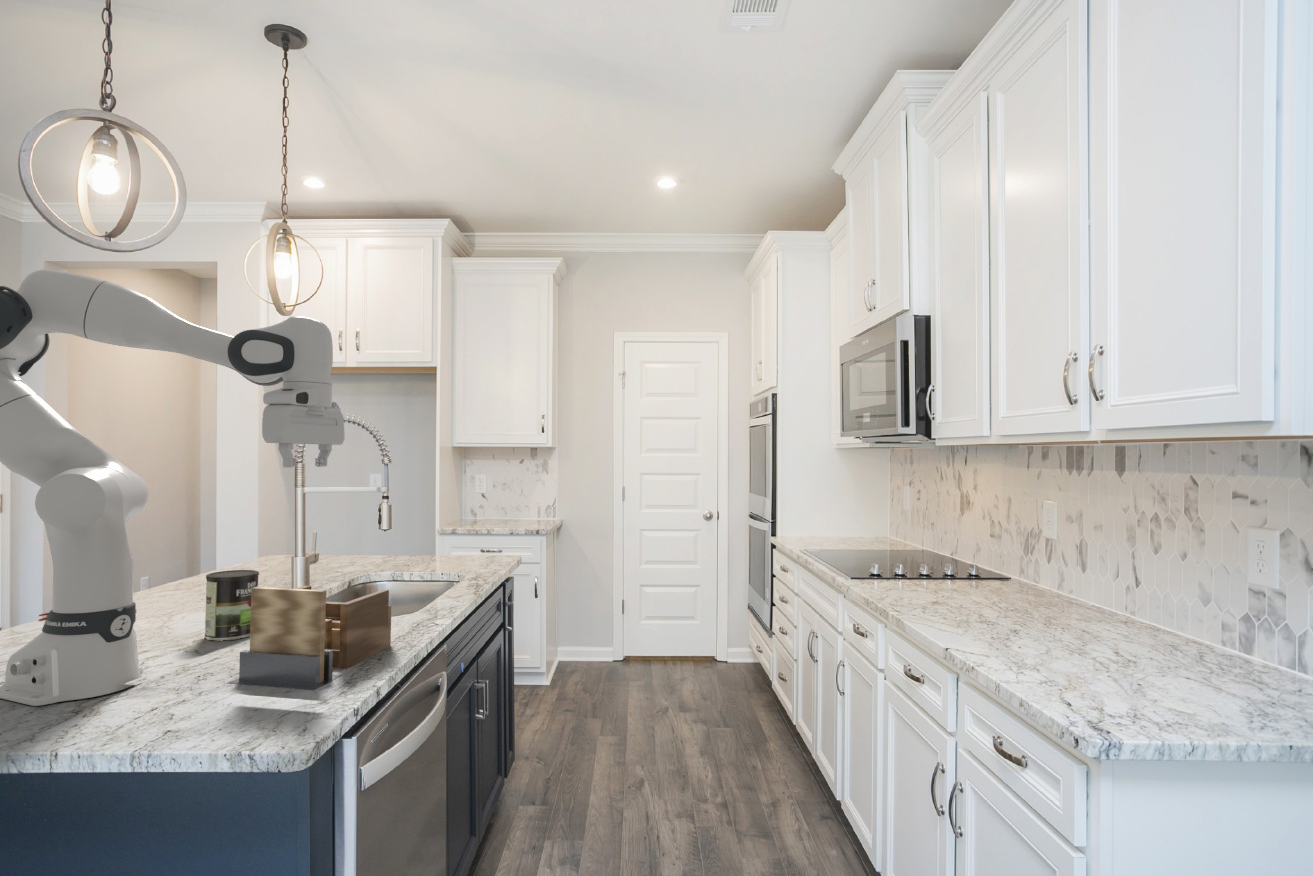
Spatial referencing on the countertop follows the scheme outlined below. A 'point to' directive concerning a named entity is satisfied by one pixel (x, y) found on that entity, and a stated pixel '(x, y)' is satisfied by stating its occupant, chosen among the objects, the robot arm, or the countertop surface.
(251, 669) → the stand
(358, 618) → the board rack
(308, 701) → the countertop surface
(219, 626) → the coffee can
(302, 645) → the cutting board
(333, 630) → the small boards
